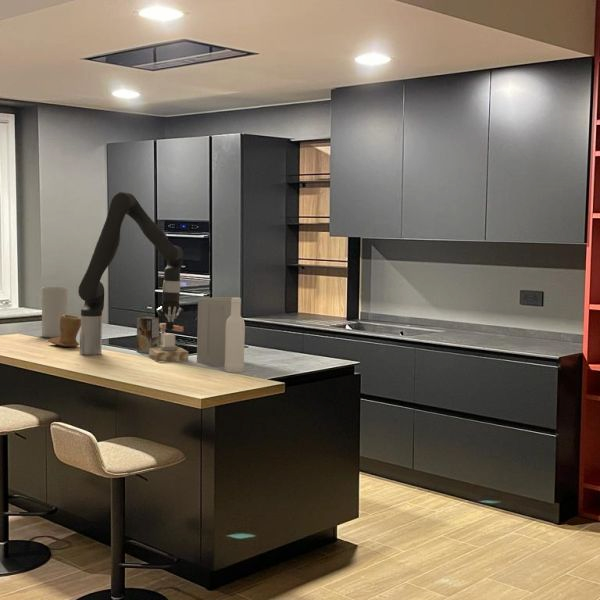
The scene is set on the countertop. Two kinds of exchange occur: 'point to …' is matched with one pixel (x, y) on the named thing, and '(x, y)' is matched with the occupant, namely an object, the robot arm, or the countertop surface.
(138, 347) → the coffee box
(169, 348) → the plug
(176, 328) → the bar
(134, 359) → the countertop surface
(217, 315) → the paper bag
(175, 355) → the socket block
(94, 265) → the robot arm
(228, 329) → the bottle
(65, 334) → the brown boot-shaped piece
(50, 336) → the cylinder vase
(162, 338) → the clip post
